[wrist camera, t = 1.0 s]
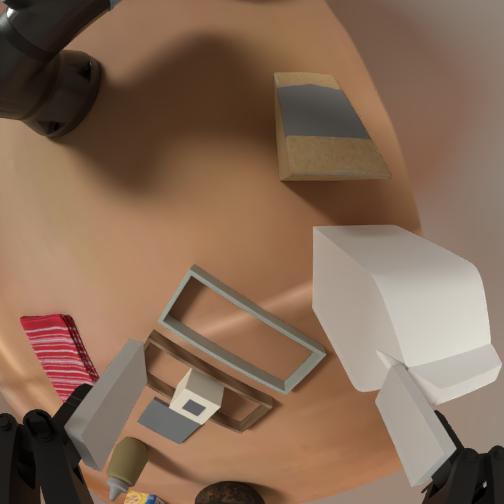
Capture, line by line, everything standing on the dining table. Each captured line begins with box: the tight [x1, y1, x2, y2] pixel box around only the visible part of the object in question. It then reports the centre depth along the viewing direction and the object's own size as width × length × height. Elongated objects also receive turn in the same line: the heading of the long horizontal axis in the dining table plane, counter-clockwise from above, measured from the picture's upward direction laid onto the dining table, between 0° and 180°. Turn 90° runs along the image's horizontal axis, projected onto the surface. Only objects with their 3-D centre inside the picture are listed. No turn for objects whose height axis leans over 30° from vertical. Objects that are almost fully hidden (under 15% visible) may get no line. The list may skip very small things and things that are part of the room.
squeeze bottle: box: [107, 437, 148, 501], centre depth 39 cm, size 8×8×18 cm
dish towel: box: [20, 314, 99, 403], centre depth 42 cm, size 17×24×3 cm
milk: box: [312, 225, 502, 406], centre depth 23 cm, size 12×12×26 cm
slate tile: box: [137, 397, 201, 444], centre depth 44 cm, size 10×10×1 cm
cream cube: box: [169, 368, 224, 425], centre depth 39 cm, size 6×6×6 cm
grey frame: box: [158, 264, 327, 395], centre depth 38 cm, size 23×10×2 cm, turn 55°
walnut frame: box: [144, 330, 273, 434], centre depth 40 cm, size 23×10×2 cm, turn 55°
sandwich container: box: [274, 72, 391, 181], centre depth 25 cm, size 9×15×15 cm, turn 2°
